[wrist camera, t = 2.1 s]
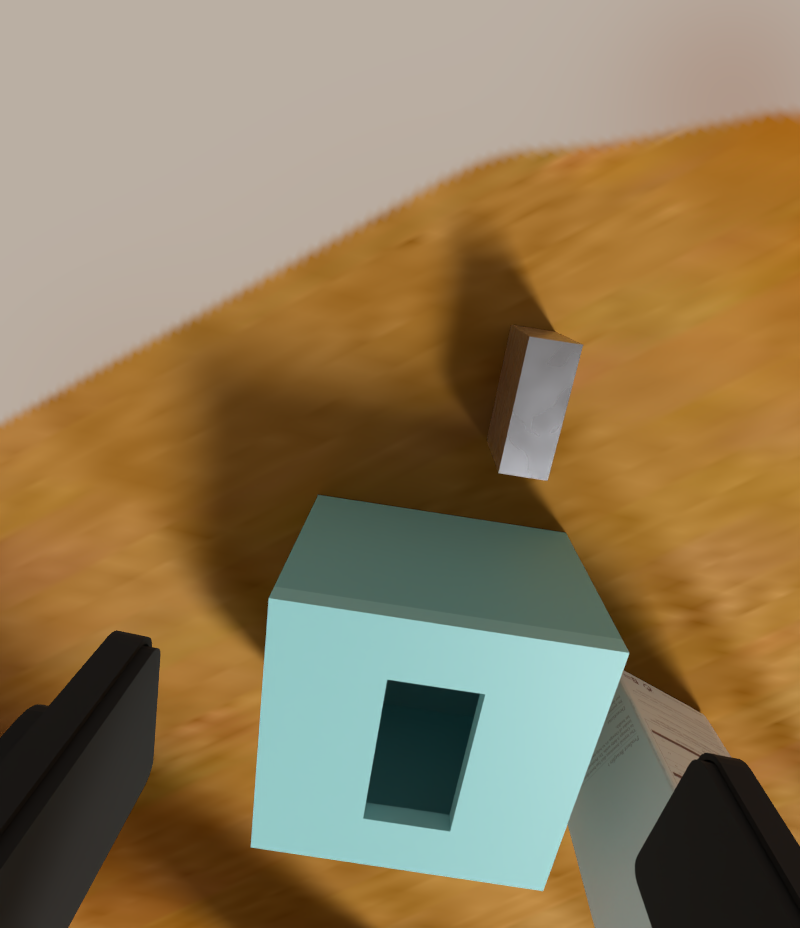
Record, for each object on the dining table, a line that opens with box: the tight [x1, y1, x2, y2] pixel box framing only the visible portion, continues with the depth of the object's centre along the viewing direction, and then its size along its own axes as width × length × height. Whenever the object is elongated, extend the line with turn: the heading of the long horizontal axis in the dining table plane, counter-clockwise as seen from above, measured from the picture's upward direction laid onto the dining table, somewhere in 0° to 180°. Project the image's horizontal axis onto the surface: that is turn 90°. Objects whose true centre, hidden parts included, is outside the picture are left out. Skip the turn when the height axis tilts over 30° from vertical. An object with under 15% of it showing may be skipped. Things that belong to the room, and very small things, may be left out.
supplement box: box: [568, 670, 731, 928], centre depth 28 cm, size 7×7×13 cm
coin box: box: [251, 495, 629, 891], centre depth 28 cm, size 14×14×10 cm
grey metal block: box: [487, 325, 583, 481], centre depth 25 cm, size 2×6×5 cm, turn 171°
